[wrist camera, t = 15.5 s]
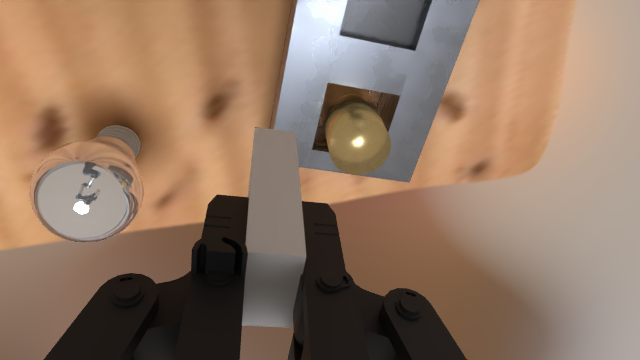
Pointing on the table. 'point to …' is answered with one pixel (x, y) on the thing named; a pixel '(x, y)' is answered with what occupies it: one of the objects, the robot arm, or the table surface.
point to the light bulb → (89, 186)
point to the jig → (369, 70)
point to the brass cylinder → (354, 130)
